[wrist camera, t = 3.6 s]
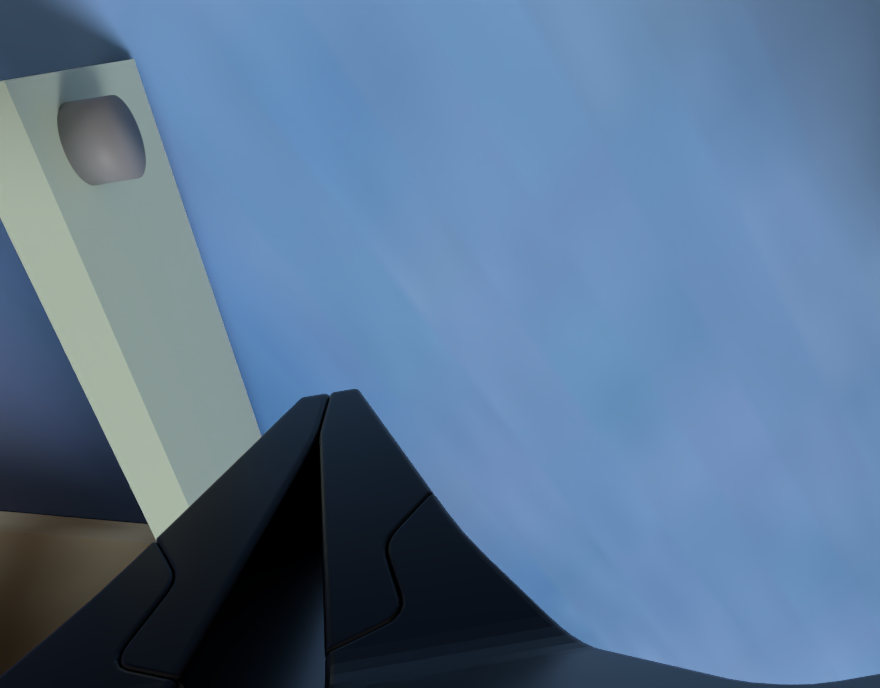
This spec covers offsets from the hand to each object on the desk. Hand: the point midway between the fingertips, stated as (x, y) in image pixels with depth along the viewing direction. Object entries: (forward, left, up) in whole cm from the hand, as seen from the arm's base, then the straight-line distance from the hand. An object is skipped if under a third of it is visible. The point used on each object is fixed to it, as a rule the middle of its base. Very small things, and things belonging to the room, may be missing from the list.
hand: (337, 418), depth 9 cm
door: (+4, +6, -12) cm, 14 cm away
